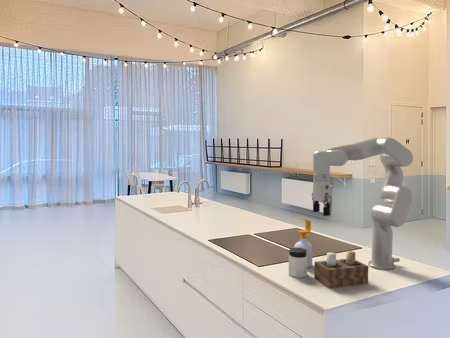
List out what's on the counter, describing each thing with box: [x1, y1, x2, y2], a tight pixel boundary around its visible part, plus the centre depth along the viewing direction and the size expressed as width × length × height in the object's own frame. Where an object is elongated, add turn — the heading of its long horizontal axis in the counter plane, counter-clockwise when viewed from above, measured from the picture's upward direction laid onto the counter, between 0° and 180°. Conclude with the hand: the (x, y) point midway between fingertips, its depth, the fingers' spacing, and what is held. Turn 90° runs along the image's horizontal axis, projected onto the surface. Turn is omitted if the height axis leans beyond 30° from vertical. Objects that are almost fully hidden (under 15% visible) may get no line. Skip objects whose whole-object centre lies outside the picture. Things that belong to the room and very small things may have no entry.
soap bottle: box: [293, 217, 313, 269], centre depth 193 cm, size 9×9×25 cm
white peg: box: [326, 252, 337, 266], centre depth 170 cm, size 4×4×8 cm
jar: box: [288, 247, 308, 278], centre depth 180 cm, size 9×8×12 cm
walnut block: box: [313, 258, 369, 289], centre depth 171 cm, size 20×12×8 cm, turn 106°
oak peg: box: [345, 250, 357, 264], centre depth 172 cm, size 4×4×8 cm
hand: (321, 213), depth 177 cm, fingers open, 9 cm apart
